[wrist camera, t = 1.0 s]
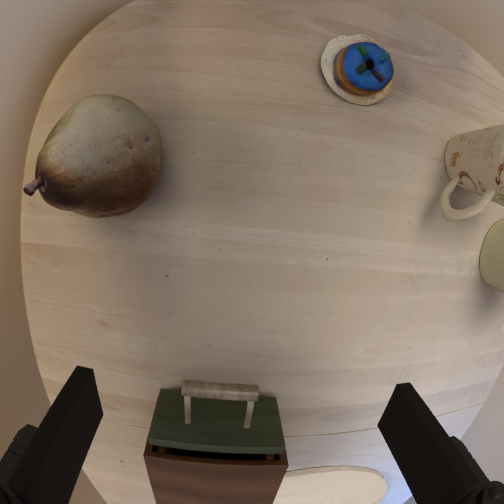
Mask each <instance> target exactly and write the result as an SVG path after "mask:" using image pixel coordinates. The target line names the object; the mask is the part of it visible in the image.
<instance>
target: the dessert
mask: <svg viewBox="0 0 504 504" xmlns="http://www.w3.org/2000/svg"><path fill="white" fill-rule="evenodd" d="M321 68H322V71H323V75H324V77H325V79H326V81H327V82H328V84H329V86H330V87H331V88H332V90H333V91H334V92H335V93H337V94H338V95H339V96H341V97H342V98H344V99H345V100H347V101H349V102H351V103H355V104H359V105H371V104H374V103H376V102H379V101H381V100H382V99H384V98H385V97H386V95H387V94H388V92H389V90H390V88H391V86H392V82H393V73H394V71H393V66H392V62H391V59H390V56H389V53H387V52H386V51H385V50H384V49H383V48H382V46H381V45H380V44H379V43H377V42H376V41H375V40H374V39H372V38H370V37H368V36H366V35H364V34H356V35H352V36H346V35H345V36H339V37H336V38H333V39H331V40H330V41H329V42H328V43H327V45H326V48H325V50H324V52H323V54H322V56H321Z"/></svg>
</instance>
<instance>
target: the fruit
mask: <svg viewBox="0 0 504 504" xmlns="http://www.w3.org/2000/svg"><path fill="white" fill-rule="evenodd" d="M161 158H162V147H161V137H160V133H159V130H158V127H157V125H156V123H155V122H154V121H153V120H152V119H151V118H150V117H149V116H148V115H147V114H146V113H145V112H143V111H142V110H141V109H140V108H139V107H138V106H137V105H135V104H134V103H132V102H131V101H129V100H127V99H125V98H123V97H119V96H114V95H94V96H90V97H87V98H84V99H83V100H81V101H79V102H78V103H77V104H75V105H74V106H73V107H72V108H71V109H70V110H69V111H68V112H66V113H65V114H64V115H63V116H62V117H61V118H60V120H59V121H58V122H57V123H56V125H55V126H54V128H53V129H52V130H51V132H50V133H49V135H48V137H47V139H46V141H45V143H44V146H43V148H42V149H41V151H40V153H39V155H38V158H37V164H36V171H35V180H34V181H32V182H31V183H30V184H28V185H26V186H24V189H23V190H24V192H25V193H26V194H27V195H29V196H32V195H33V194H34V192H35V191H36V190H37V189H38V190H39V192H40V194H41V196H42V198H43V199H44V200H45V202H46V203H48V204H49V205H51V206H53V207H55V208H58V209H61V210H65V211H73V212H75V213H77V214H80V215H84V216H88V217H92V218H103V217H112V216H119V215H123V214H126V213H128V212H131V211H132V210H134V209H136V208H138V207H139V206H140V205H141V204H143V203H144V201H145V200H146V199H147V198H148V196H149V195H150V193H151V191H152V190H153V188H154V186H155V184H156V181H157V178H158V175H159V172H160V167H161Z"/></svg>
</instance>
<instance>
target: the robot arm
mask: <svg viewBox="0 0 504 504" xmlns="http://www.w3.org/2000/svg"><path fill="white" fill-rule="evenodd" d="M102 417H103V411H102V407H101V403H100V398H99V394H98V390H97V385H96V381H95V376H94V371H93V369H90V368H86V367H82V366H77V367H76V368H75V370H74V371H73V373H72V374H71V376H70V377H69V379H68V380H67V382H66V384H65V385H64V387H63V388H62V390H61V391H60V393H59V395H58V396H57V398H56V399H55V401H54V403H53V404H52V406H51V407H50V409H49V411H48V412H47V414H46V416H45V417H44V419H43V421H42V422H41V424H40V426H39V427H38V428H37V427H34V426H32V425H29V424H27V425H26V426H25V427H23V428H22V429H21V430H19V431H18V433H17V434H16V436H15V437H14V439H13V442H12V443H11V444H10V446H9V447H8V450H7V451H6V452H5V454H4V456H3V457H2V459H1V461H0V504H68V503H69V500H70V498H71V495H72V492H73V489H74V487H75V484H76V481H77V478H78V476H79V473H80V470H81V468H82V465H83V463H84V460H85V458H86V455H87V453H88V450H89V448H90V445H91V443H92V440H93V438H94V436H95V433H96V431H97V428H98V426H99V424H100V421H101V419H102ZM377 426H378V427H379V429H380V431H381V433H382V435H383V437H384V439H385V441H386V443H387V445H388V447H389V449H390V451H391V453H392V455H393V457H394V459H395V461H396V463H397V465H398V466H399V468H400V470H401V472H402V474H403V476H404V478H405V480H406V482H407V484H408V486H409V489H410V491H411V493H412V495H413V496H414V499H415V501H416V503H417V504H504V484H502V483H501V482H498V481H492V482H490V481H489V479H488V478H487V477H486V475H485V474H484V472H483V471H482V469H481V468H480V467H479V465H478V464H477V462H476V461H475V459H474V458H472V455H471V454H470V452H468V449H467V448H466V447H465V445H464V444H463V443H462V442H461V441H460V440H459V439H457V438H456V437H455V436H452V437H449V436H448V434H447V433H446V432H445V430H444V429H443V427H442V426H441V425H440V423H439V422H438V420H437V419H436V418H435V416H434V415H433V413H432V412H431V411H430V409H429V408H428V406H427V405H426V404H425V402H424V401H423V400H422V398H421V397H420V396H419V394H418V393H417V392H416V390H415V389H414V387H413V386H412V385H411V383H402V384H397V385H396V387H395V389H394V392H393V394H392V396H391V398H390V400H389V402H388V405H387V407H386V409H385V411H384V413H383V415H382V417H381V419H380V421H379V423H378V425H377Z"/></svg>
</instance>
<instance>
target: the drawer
mask: <svg viewBox="0 0 504 504" xmlns="http://www.w3.org/2000/svg"><path fill="white" fill-rule="evenodd" d="M258 395H259V388H258V385H242V384H226V383H213V382H202V381H192V380H183V381H182V388H181V391H174V390H166V389H161V390H160V394H159V397H158V401H157V405H156V409H155V413H154V416H153V420H152V424H151V428H150V432H149V436H148V440H149V444H150V445H156V446H159V447H158V453H165V454H172V455H180V456H188V457H198V458H210V459H226V460H274V454H283V453H284V450H285V442H284V436H283V431H282V426H281V420H280V415H279V410H278V404H277V399H276V397H258Z"/></svg>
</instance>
